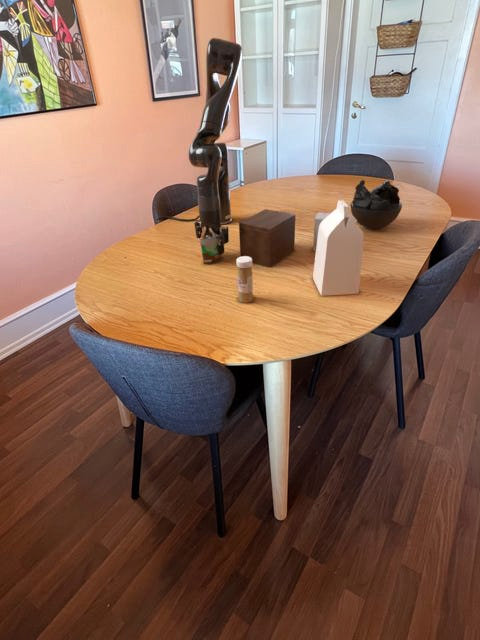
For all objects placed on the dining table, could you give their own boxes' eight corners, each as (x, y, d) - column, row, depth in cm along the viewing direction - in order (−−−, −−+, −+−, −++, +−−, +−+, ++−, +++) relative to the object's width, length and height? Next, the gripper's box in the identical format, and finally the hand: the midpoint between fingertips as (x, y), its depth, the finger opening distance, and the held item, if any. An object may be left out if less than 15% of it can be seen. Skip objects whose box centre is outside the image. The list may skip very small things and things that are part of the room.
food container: (219, 266, 136) (216, 240, 131) (202, 265, 137) (199, 239, 132) (226, 252, 146) (225, 227, 141) (211, 252, 147) (209, 227, 142)
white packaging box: (334, 245, 147) (337, 213, 140) (332, 252, 142) (335, 219, 135) (315, 243, 150) (317, 211, 143) (312, 251, 144) (314, 218, 137)
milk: (312, 277, 126) (318, 198, 112) (347, 275, 126) (356, 196, 112) (321, 295, 116) (328, 211, 101) (358, 293, 116) (370, 208, 102)
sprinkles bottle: (235, 300, 116) (233, 259, 109) (245, 294, 119) (243, 254, 111) (247, 304, 114) (245, 263, 106) (256, 298, 116) (255, 257, 109)
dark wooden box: (240, 259, 140) (238, 222, 133) (265, 243, 152) (265, 209, 144) (270, 267, 134) (270, 229, 126) (294, 250, 145) (295, 214, 137)
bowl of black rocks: (408, 228, 158) (417, 181, 148) (374, 240, 150) (382, 191, 139) (370, 216, 173) (376, 173, 162) (338, 226, 164) (342, 181, 154)
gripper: (232, 207, 130) (234, 252, 139) (200, 201, 137) (205, 244, 146) (218, 213, 125) (222, 259, 134) (186, 206, 132) (191, 251, 141)
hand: (213, 251), depth 140 cm, fingers closed on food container, 7 cm apart
